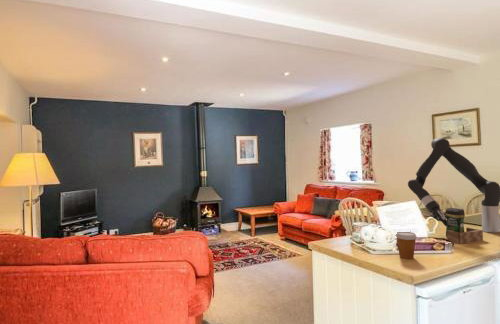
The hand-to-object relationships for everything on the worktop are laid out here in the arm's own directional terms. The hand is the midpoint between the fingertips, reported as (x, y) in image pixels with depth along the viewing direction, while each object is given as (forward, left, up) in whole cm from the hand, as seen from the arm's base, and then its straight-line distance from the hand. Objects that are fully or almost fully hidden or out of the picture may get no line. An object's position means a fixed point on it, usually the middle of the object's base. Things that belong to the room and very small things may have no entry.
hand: (447, 225), depth 202 cm
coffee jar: (+1, +5, -7) cm, 9 cm away
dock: (0, +11, -7) cm, 13 cm away
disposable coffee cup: (+57, +20, -7) cm, 61 cm away
